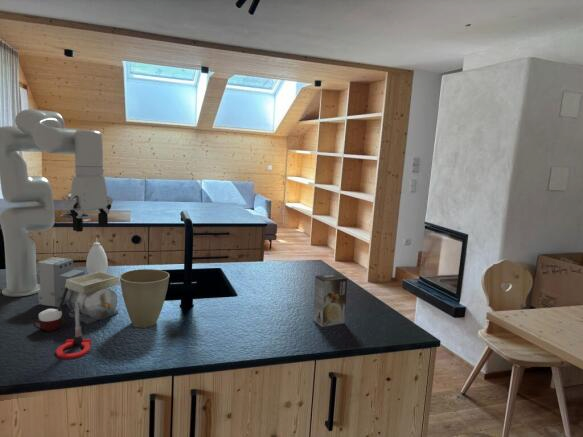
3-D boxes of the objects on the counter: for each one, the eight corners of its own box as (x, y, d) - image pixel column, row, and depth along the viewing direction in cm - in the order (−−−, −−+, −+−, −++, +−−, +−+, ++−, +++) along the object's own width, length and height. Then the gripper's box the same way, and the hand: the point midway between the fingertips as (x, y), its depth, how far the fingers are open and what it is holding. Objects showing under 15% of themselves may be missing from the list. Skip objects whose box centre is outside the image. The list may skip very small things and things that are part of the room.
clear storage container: (61, 315, 143) (60, 278, 141) (97, 304, 154) (97, 269, 152) (90, 327, 135) (89, 288, 133) (126, 314, 146) (125, 278, 144)
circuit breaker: (75, 309, 149) (73, 266, 146) (38, 304, 152) (36, 262, 149) (89, 301, 156) (88, 261, 154) (54, 297, 159) (52, 257, 156)
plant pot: (149, 336, 131) (149, 285, 129) (109, 327, 136) (108, 277, 134) (178, 319, 145) (178, 272, 143) (141, 311, 150) (141, 266, 148)
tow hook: (84, 359, 117) (95, 342, 126) (82, 314, 114) (93, 300, 123) (51, 360, 116) (64, 343, 125) (47, 315, 113) (61, 300, 122)
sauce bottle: (94, 275, 185) (93, 234, 182) (111, 277, 184) (110, 235, 181) (82, 281, 178) (81, 237, 175) (100, 283, 177) (100, 239, 174)
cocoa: (33, 335, 129) (28, 297, 127) (37, 325, 135) (33, 289, 132) (68, 331, 132) (65, 293, 130) (72, 322, 138) (68, 286, 135)
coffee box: (334, 316, 154) (337, 272, 152) (345, 323, 149) (348, 278, 146) (312, 320, 150) (315, 275, 148) (321, 327, 145) (325, 280, 142)
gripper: (101, 170, 140) (103, 223, 143) (55, 172, 124) (57, 231, 127) (120, 172, 138) (121, 225, 140) (75, 174, 122) (77, 234, 124)
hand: (90, 228), depth 134 cm, fingers open, 9 cm apart
